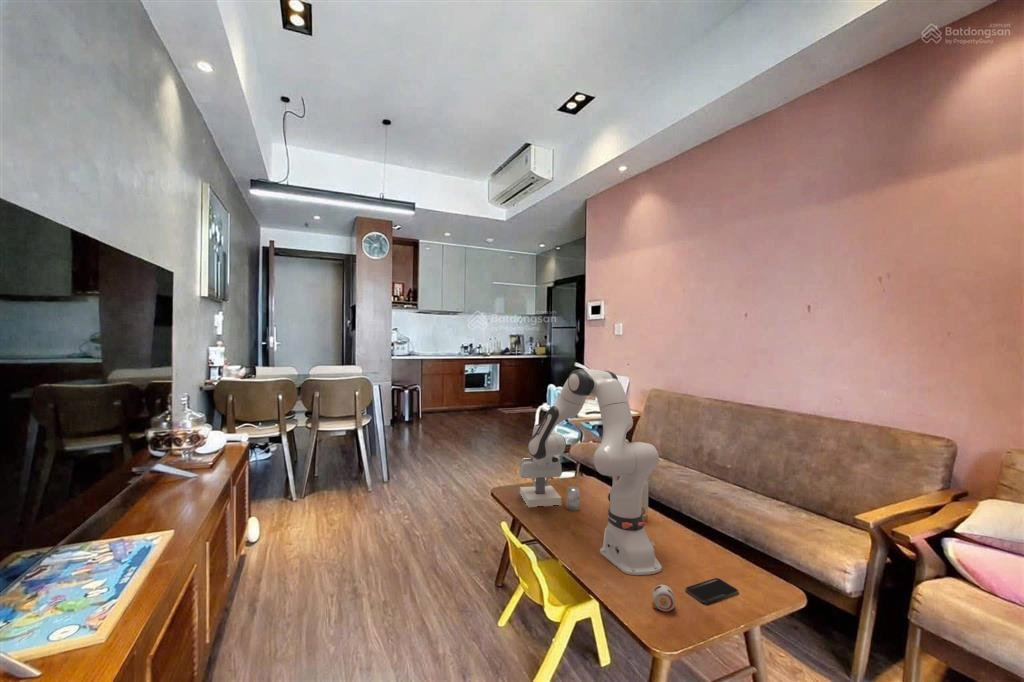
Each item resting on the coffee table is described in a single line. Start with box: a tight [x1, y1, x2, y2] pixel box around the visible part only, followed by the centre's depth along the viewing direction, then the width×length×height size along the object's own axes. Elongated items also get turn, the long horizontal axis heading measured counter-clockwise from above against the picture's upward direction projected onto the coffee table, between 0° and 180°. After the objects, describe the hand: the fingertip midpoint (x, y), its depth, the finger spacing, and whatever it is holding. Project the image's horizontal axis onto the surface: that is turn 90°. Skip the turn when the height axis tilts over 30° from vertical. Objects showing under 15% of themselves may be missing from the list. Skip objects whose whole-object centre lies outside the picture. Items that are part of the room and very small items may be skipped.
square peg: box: [535, 477, 546, 494], centre depth 194 cm, size 4×4×9 cm
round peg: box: [566, 485, 580, 512], centre depth 184 cm, size 6×6×9 cm
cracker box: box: [612, 476, 649, 522], centre depth 174 cm, size 14×6×21 cm, turn 97°
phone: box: [684, 577, 739, 606], centre depth 124 cm, size 8×1×15 cm
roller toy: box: [651, 584, 676, 612], centre depth 116 cm, size 4×6×6 cm
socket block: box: [519, 485, 563, 508], centre depth 194 cm, size 16×16×4 cm
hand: (540, 486), depth 194 cm, fingers closed on square peg, 3 cm apart
